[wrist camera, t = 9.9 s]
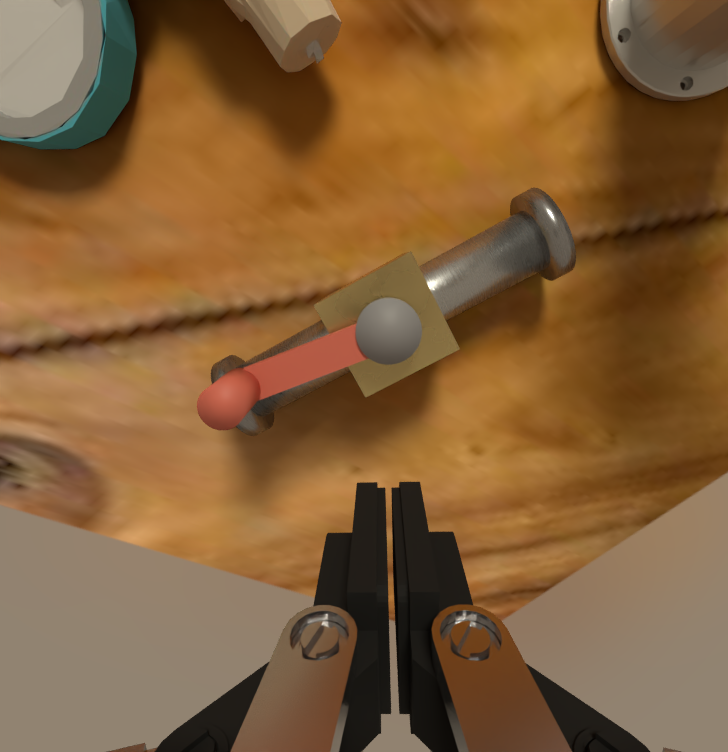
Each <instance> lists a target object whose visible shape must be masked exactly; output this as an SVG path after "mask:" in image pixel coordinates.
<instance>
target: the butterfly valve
mask: <svg viewBox="0 0 728 752" xmlns="http://www.w3.org/2000/svg"><path fill="white" fill-rule="evenodd" d="M224 1H225V3H226V4H227V5H228V6H229V8H230V9H231V10H232V11H233V12H234V14H235V15H236V16H237V17H238V19H239V20H240V21H241V22H242V21H244V20H245V19H246V20H247V21H249V22H250V23H251V25H252V26H253V28H254V29H255V30H256V32H257V33H258V35H259V36H260V38H261V39H262V41H263V42H264V44H265V45H266V47H267V48H268V50H269V51H270V53H271V54H272V55H273V57H274V58H275V60H276V61H277V63H278V64H279V66H280V67H281V68H282V69H284V70H285V71H286V72H297V71H301V70H302V69H304V68H305V67H307V66H308V65H310V64H311V63H313V62H314V61H315V60H316V62H317V63H318V62H320V61H321V60H322V59H324V57H323V54H325V53H326V52H327V50H328V49H329V48H330V46H331V45H332V44H333V42H334V41H335V40H336V38H337V35H338V32H339V29H340V26H341V23H342V22H341V20H340V18H339V16H338V15H337V13H336V11H335V9H334V7H333V5H332V3H331V1H330V0H224ZM136 57H137V51H136V39H135V27H134V18H133V15H132V12H131V9H130V6H129V3H128V0H0V139H1V140H4V141H8V142H12V143H16V144H20V145H25V146H29V147H33V148H37V149H77V148H79V147H81V146H83V145H86V144H88V143H90V142H92V141H94V140H96V139H98V138H101V137H103V136H105V135H106V133H107V132H108V130H109V129H110V127H111V126H112V124H113V123H114V121H115V120H116V118H117V117H118V115H119V114H120V113H121V111H122V110H123V108H124V107H125V105H126V104H127V102H128V101H129V98H130V92H131V86H132V80H133V75H134V69H135V63H136Z"/></svg>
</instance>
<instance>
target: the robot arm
mask: <svg viewBox="0 0 728 752" xmlns="http://www.w3.org/2000/svg"><path fill="white" fill-rule="evenodd" d="M600 19H601V28H602V36H603V39H604V42H605V45H606V49H607V52H608V54H609V56H610V58H611V60H612V62H613V64H614V65H615V67H616V69H617V70H618V71H619V72H620V74H621V75H622V76H623V77H624V78H625V80H626V81H627V82H629V83H630V84H631V85H633V86H634V87H635V88H637V89H638V90H639V91H641V92H643V93H645V94H647V95H650V96H652V97H654V98H658V99H663V100H669V101H689V100H693V99H697V98H701V97H706V96H708V95H710V94H713V93H715V92H717V91H719V90H722V89H724V88H725V87H727V86H728V0H601V7H600ZM618 39H619V40H620V41H619V40H618ZM392 532H393V579H394V603H395V625H396V645H397V669H398V692H399V711H400V714H410V727H411V734H415V735H416V736H417V737H418V738H419V739H420V740H421V741H422V742H423V743H424V744H425V745H426V746H427V747H428V748H429V749H430V750H431V752H650V751H649V750H648V749H647V747H646V746H645V745H643V744H642V743H641V742H640V741H639V740H637V739H636V738H635V737H634V736H632V735H631V734H630V733H628V732H627V731H625V730H624V729H623V728H621V727H619V726H618V725H617V724H615V723H614V722H612V721H611V720H609V719H608V718H606V717H605V716H603V715H602V714H600V713H599V712H597V711H596V710H594V709H593V708H591V707H590V706H588V705H587V704H585V703H584V702H582V701H581V700H579V699H578V698H576V697H575V696H574V695H572V694H571V693H569V692H567V691H566V690H564V689H563V688H562V687H560V686H559V685H557V684H556V683H554V682H553V681H551V680H550V679H548V678H547V677H545V676H544V675H542V674H541V673H539V672H538V671H536V670H535V669H533V668H532V667H530V666H529V665H528V664H526V663H525V662H524V660H523V658H522V656H521V654H520V652H519V650H518V648H517V646H516V645H515V643H514V641H513V639H512V637H511V635H510V633H509V631H508V629H507V628H506V627H505V625H504V624H503V622H502V621H501V620H500V619H499V618H498V617H496V616H495V615H494V614H493V613H491V612H489V611H487V610H485V609H483V608H481V607H477V606H473V602H472V599H471V595H470V591H469V588H468V584H467V580H466V576H465V573H464V569H463V565H462V562H461V558H460V554H459V550H458V547H457V543H456V539H455V536H454V533H453V532H429V530H428V525H427V519H426V513H425V508H424V502H423V497H422V491H421V486H420V482H399V488H392ZM381 714H391V692H390V652H389V608H388V570H387V534H386V499H385V488H377V482H374V483H357V489H356V500H355V510H354V521H353V531H352V533H328V534H327V536H326V541H325V546H324V552H323V557H322V562H321V568H320V573H319V579H318V584H317V590H316V595H315V601H314V606H313V607H309V608H306V609H304V610H302V611H301V612H299V613H297V614H296V615H295V616H294V617H293V618H291V619H290V620H289V622H288V623H287V625H286V626H285V628H284V629H283V632H282V634H281V636H280V639H279V641H278V644H277V646H276V648H275V650H274V652H273V655H272V657H271V660H270V662H268V663H267V664H265V665H264V666H263V667H261V668H260V669H258V670H257V671H256V672H254V673H253V674H252V675H250V676H249V677H247V678H246V679H245V680H243V681H242V682H241V683H239V684H238V685H236V686H235V687H234V688H232V689H231V690H229V691H228V692H227V693H225V694H224V695H223V696H221V697H220V698H219V699H217V700H216V701H214V702H213V703H212V704H210V705H209V706H207V707H206V708H205V709H203V710H202V711H201V712H199V713H198V714H197V715H195V716H194V717H192V718H191V719H190V720H188V721H187V722H185V723H184V724H183V725H181V726H180V727H179V728H177V729H176V730H175V731H173V732H172V733H171V734H170V735H169V736H168V737H167V738H166V739H164V740H163V741H162V742H161V744H160V745H159V746H158V748H153V749H149V750H147V749H146V744H145V743H142V744H138V745H133V746H129V747H125V748H120V749H116V750H112V751H108V752H363V750H364V749H365V748H366V746H367V745H368V744H369V743H370V742H371V741H372V740H373V739H374V738H375V737H376V736H377V735H378V734H380V733H381ZM663 752H681V751H676V750H672V749H668V748H663Z"/></svg>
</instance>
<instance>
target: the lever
mask: <svg viewBox="0 0 728 752" xmlns="http://www.w3.org/2000/svg"><path fill="white" fill-rule="evenodd" d="M421 337H422V326H421V322H420V319H419V317H418V315H417V313H416V312H415V311H414V309H413V308H412V307H411V306H410V305H409V304H407V303H406V302H404V301H402V300H400V299H397V298H393V297H384V298H379V299H376V300H374V301H372V302H371V303H369V304H368V305H367V306H366V307H365V308H364V309H363V310H362V312H361V313H360V315H359V317H358V320H357V323H356V324H353V325H351V326H348V327H346V328H343V329H341V330H338V331H336V332H333V333H331V334H328V335H325V336H323V337H320V338H318V339H315V340H313V341H310V342H308V343H305V344H303V345H300V346H297V347H295V348H292V349H290V350H287V351H285V352H282V353H280V354H277V355H275V356H272V357H269V358H267V359H264V360H262V361H259V362H257V363H254V364H252V365H249V366H247V367H244V368H235V369H232V370H230V371H229V372H228V373H226V374H225V375H224V376H222V377H220V378H219V379H218V380H217V381H216V382H214V383H213V384H212V385H211V386H209V387H208V388H207V389H205V390H204V391H203V392H202V393H201V395H200V396H199V398H198V402H197V410H198V414H199V416H200V418H201V419H202V420H203V422H204V423H205V424H207V425H208V426H209V427H211V428H213V429H217V430H229V429H232V428H234V427H235V426H237V425H238V424H239V423H240V422H241V421H242V419H243V418H244V417H245V416H246V414H247V413H248V412H249V411H250V410H251V408H252V407H253V406H254V405H255V403H256V402H257V401H259V400H261V399H264V398H267V397H269V396H272V395H274V394H277V393H280V392H282V391H285V390H288V389H290V388H293V387H295V386H298V385H301V384H303V383H306V382H308V381H311V380H314V379H316V378H319V377H322V376H324V375H327V374H329V373H332V372H335V371H337V370H340V369H342V368H345V367H348V366H350V365H353V364H356V363H358V362H361V361H363V360H366V359H371V360H372V361H374V362H377V363H380V364H386V365H391V364H397V363H400V362H402V361H405V360H406V359H408V358H409V357H410V356H411V355H412V354H413V353H414V352H415V351H416V349H417V348H418V346H419V344H420V341H421Z"/></svg>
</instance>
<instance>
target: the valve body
mask: <svg viewBox="0 0 728 752" xmlns="http://www.w3.org/2000/svg"><path fill="white" fill-rule="evenodd" d="M510 215H511V216H510V217H508V218H507V219H505V220H503V221H501V222H499V223H498V224H496V225H494V226H492V227H490V228H488V229H487V230H485V231H483V232H481V233H479V234H477V235H476V236H474V237H472V238H470V239H468V240H467V241H465V242H463V243H461V244H459V245H457V246H456V247H454V248H452V249H450V250H448V251H447V252H445V253H443V254H441V255H439V256H437V257H436V258H434V259H432V260H430V261H428V262H426V263H425V264H423V265H421V266H418V264H417V262H416V260H415V258H414V256H413V254H412V252H411V251H410V252H407V253H404V254H401V255H400V256H398V257H396V258H394V259H392V260H391V261H389V262H387V263H385V264H383V265H382V266H380V267H378V268H376V269H374V270H373V271H371V272H369V273H367V274H365V275H364V276H362V277H360V278H358V279H356V280H355V281H353V282H351V283H349V284H347V285H346V286H344V287H342V288H340V289H338V290H337V291H335V292H333V293H331V294H329V295H328V296H326V297H324V298H323V299H322V300H320V301H319V302H318V303H316V304H315V305H314V307H315V309H316V311H317V313H318V314H319V316H320V318H321V321H319V322H317V323H315V324H314V325H312V326H310V327H308V328H306V329H304V330H303V331H301V332H299V333H297V334H295V335H293V336H292V337H290V338H288V339H286V340H284V341H283V342H281V343H279V344H277V345H275V346H273V347H272V348H270V349H268V350H266V351H264V352H263V353H261V354H259V355H257V356H255V357H253V358H252V359H250V360H248V361H246V362H245V361H244V360H242V359H241V358H239V357H237V356H234V355H230V356H228V357H226V358H224V359H222V360H220V361H219V362H217V363H215V364H214V365H213V367H212V369H211V381H212V384H213V383H214V382H216V381H217V380H218V379H219V378H220V377H222V376H224V375H225V374H226V373H228V372H229V371H230V370H232V369H235V368H244V367H247V366H249V365H252V364H254V363H257V362H259V361H262V360H264V359H267V358H269V357H272V356H275V355H277V354H280V353H282V352H285V351H287V350H290V349H292V348H295V347H297V346H300V345H303V344H305V343H308V342H310V341H313V340H315V339H318V338H320V337H323V336H325V335H328V334H331V333H333V332H336V331H338V330H341V329H343V328H346V327H348V326H351V325H353V324H356V323H357V320H358V317H359V315H360V313H361V312H362V310H363V309H364V308H365V307H366V306H367V305H368V304H369V303H371V302H372V301H374V300H376V299H379V298H384V297H393V298H397V299H400V300H402V301H404V302H406V303H407V304H409V305H410V306H411V307H412V308H413V309H414V311H415V312H416V313H417V315H418V317H419V319H420V322H421V326H422V337H421V341H420V344H419V346H418V348H417V349H416V351H415V352H414V353H413V354H412V355H411V356H410V357H409V358H408V359H406V360H405V361H402V362H400V363H397V364H391V365H386V364H380V363H377V362H374V361H372V360H371V359H366V360H363V361H361V362H358V363H356V364H353V365H350V366H348V367H345V368H342V369H340V370H337V371H335V372H332V373H329V374H327V375H324V376H322V377H319V378H316V379H314V380H311V381H308V382H306V383H303V384H301V385H298V386H295V387H293V388H290V389H288V390H285V391H282V392H280V393H277V394H274V395H272V396H269V397H267V398H264V399H261V400H259V401H257V402H256V403H255V405H254V406H253V407H252V408H251V410H250V411H249V412H248V413H247V414H246V416H245V417H244V418H243V419H242V421H241V422H240V423H239V424H238V425H237V426H236V427H237V428H238V429H240V430H241V431H242V432H244V433H245V434H247V435H250V436H255V435H258V434H260V433H261V432H263V431H265V430H267V429H269V428H271V427H272V425H273V422H274V413H273V412H274V411H276V410H278V409H279V408H281V407H283V406H285V405H287V404H289V403H291V402H293V401H295V400H297V399H298V398H300V397H302V396H304V395H306V394H308V393H310V392H312V391H314V390H316V389H317V388H319V387H321V386H323V385H325V384H327V383H329V382H331V381H333V380H335V379H336V378H338V377H340V376H342V375H344V374H346V373H348V372H350V371H351V373H352V374H353V376H354V378H355V380H356V382H357V383H358V385H359V387H360V389H361V390H362V392H363V394H364V396H365V397H368V396H370V395H372V394H374V393H376V392H378V391H380V390H382V389H384V388H385V387H387V386H389V385H391V384H393V383H395V382H397V381H399V380H401V379H403V378H405V377H407V376H409V375H411V374H413V373H415V372H417V371H418V370H420V369H422V368H424V367H426V366H428V365H430V364H432V363H434V362H436V361H438V360H440V359H442V358H444V357H446V356H448V355H450V354H452V353H453V352H455V351H457V350H459V349H460V348H459V346H458V344H457V342H456V340H455V338H454V336H453V334H452V332H451V330H450V328H449V326H448V324H447V322H446V321H447V320H449V319H451V318H452V317H454V316H456V315H458V314H460V313H462V312H464V311H466V310H468V309H470V308H471V307H473V306H475V305H477V304H479V303H481V302H483V301H485V300H487V299H489V298H490V297H492V296H494V295H496V294H498V293H500V292H502V291H504V290H506V289H508V288H509V287H511V286H513V285H515V284H517V283H519V282H521V281H523V280H525V279H527V278H528V277H530V276H532V275H534V274H536V273H539V274H540V275H541V276H542V277H544V278H545V279H547V280H550V281H552V280H555V279H557V278H559V277H561V276H563V275H565V274H567V273H569V272H570V271H572V270H573V268H574V266H575V262H576V251H575V245H574V241H573V238H572V234H571V232H570V229H569V227H568V224H567V222H566V220H565V218H564V216H563V214H562V213H561V211H560V209H559V208H558V206H557V205H556V204H555V202H554V201H553V200H552V199H551V198H550V196H548V195H547V194H546V193H545V192H544V191H542V190H541V189H538V188H531V189H529V190H527V191H525V192H523V193H522V194H520V195H518V196H516V197H515V198H513V199H512V201H511V205H510Z"/></svg>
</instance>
